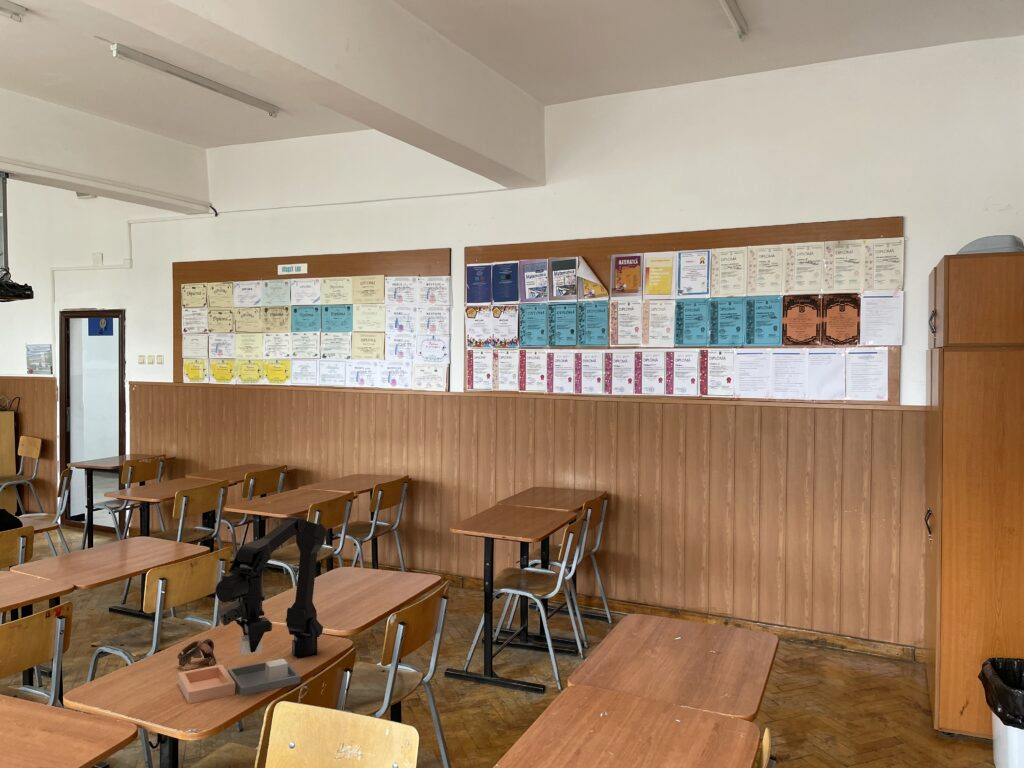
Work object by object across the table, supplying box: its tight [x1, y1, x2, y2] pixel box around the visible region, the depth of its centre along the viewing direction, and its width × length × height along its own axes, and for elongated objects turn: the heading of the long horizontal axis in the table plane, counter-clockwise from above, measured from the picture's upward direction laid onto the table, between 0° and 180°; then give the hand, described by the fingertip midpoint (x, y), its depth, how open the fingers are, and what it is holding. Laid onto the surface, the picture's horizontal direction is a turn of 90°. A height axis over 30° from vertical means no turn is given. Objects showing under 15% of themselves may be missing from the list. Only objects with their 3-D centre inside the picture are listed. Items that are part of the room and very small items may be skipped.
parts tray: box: [227, 657, 301, 697], centre depth 207 cm, size 16×15×3 cm
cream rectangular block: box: [238, 635, 263, 657], centre depth 205 cm, size 5×4×4 cm
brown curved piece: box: [176, 638, 218, 667], centre depth 218 cm, size 12×10×8 cm
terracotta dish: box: [177, 664, 236, 705], centre depth 201 cm, size 11×14×4 cm
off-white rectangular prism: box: [264, 658, 289, 681], centre depth 209 cm, size 5×4×4 cm
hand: (250, 649), depth 205 cm, fingers closed on cream rectangular block, 4 cm apart
